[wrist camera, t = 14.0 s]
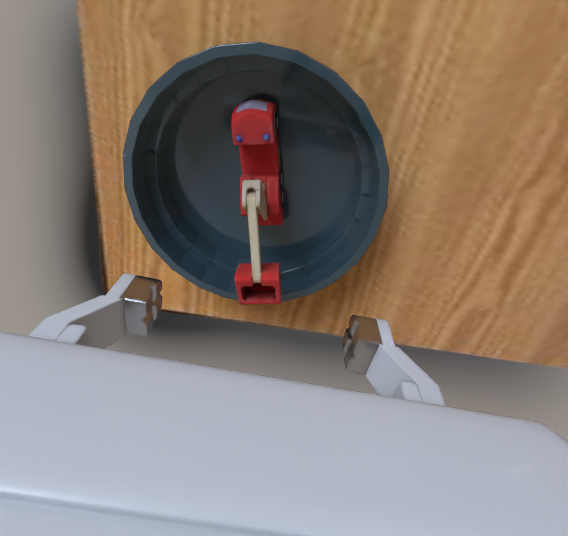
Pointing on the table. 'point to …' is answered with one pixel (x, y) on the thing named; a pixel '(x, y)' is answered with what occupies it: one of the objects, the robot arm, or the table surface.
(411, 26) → the table surface
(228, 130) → the bowl
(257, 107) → the toy fire truck
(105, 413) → the robot arm
